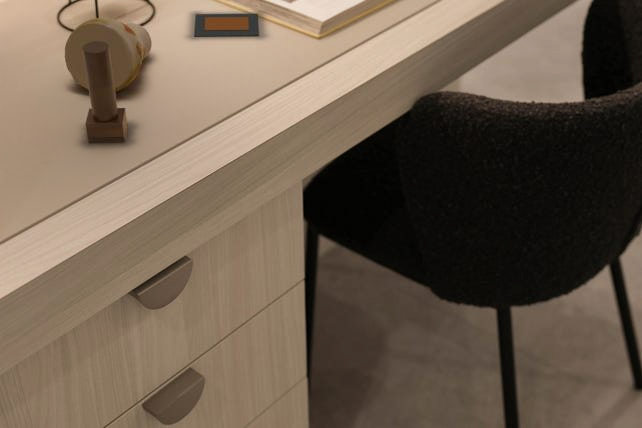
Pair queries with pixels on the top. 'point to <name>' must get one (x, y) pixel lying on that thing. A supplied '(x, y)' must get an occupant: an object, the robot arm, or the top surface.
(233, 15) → the mat
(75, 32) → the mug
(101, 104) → the stamp
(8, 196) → the top surface
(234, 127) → the top surface
